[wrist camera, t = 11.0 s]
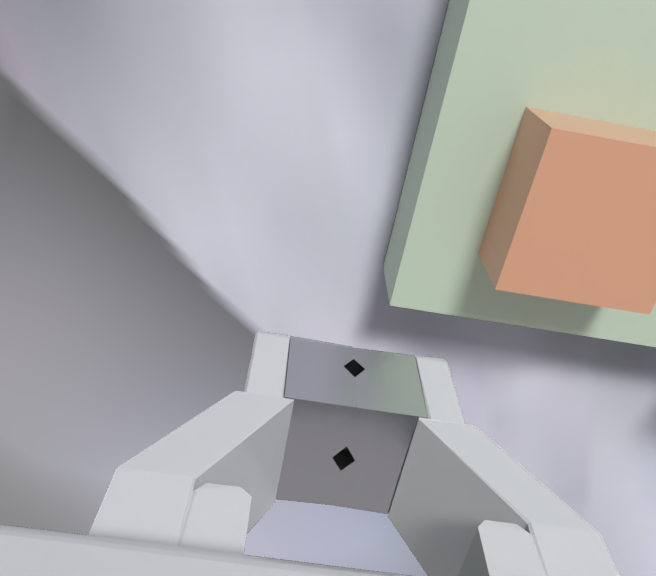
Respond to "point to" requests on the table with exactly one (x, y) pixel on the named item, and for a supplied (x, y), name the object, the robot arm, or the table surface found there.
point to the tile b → (576, 214)
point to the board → (497, 142)
